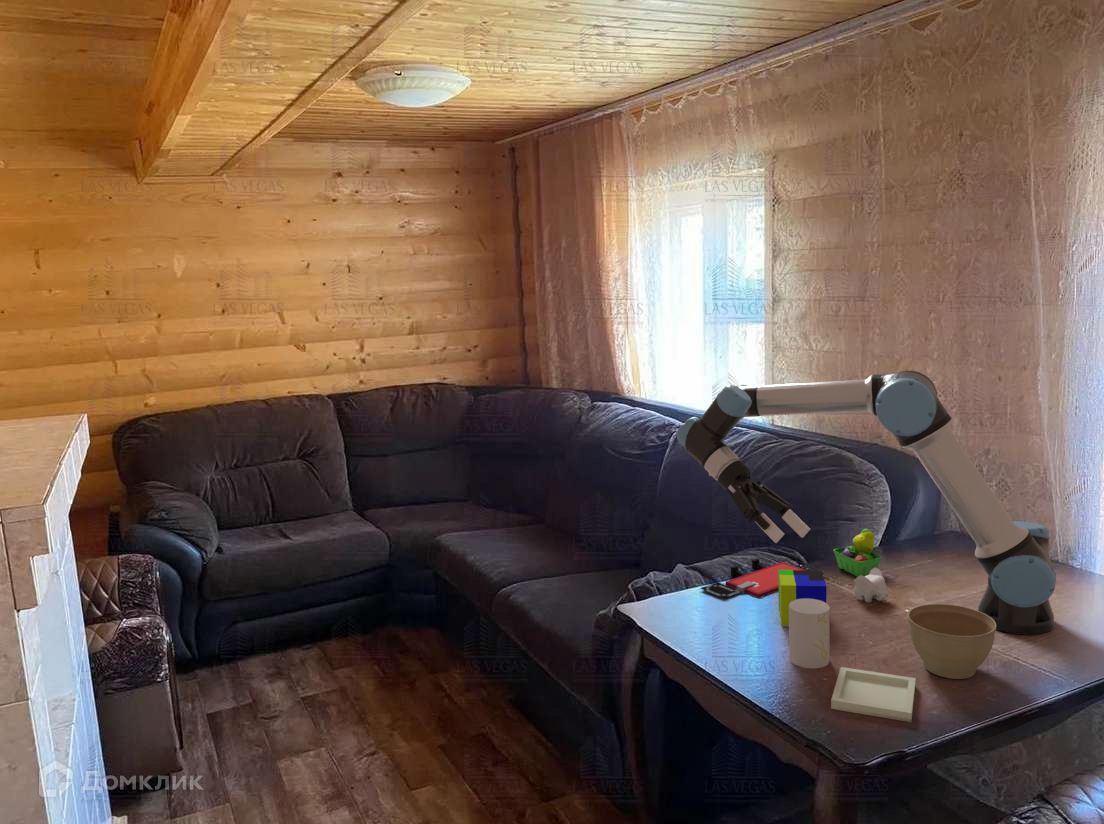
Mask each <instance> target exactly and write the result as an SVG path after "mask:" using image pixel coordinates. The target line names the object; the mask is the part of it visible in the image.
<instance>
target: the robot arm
mask: <svg viewBox="0 0 1104 824" xmlns="http://www.w3.org/2000/svg"><path fill="white" fill-rule="evenodd" d="M865 412H867V413H869V414H871V415H872V416H874V417H876V416H877V419H878V421H879V422H880V424H881V426H883V427H884V428H885V429H886V430H887V431H888V432H890V433H892V435H893V436H894V438H895V439H896V441H897V442H898V444H899V445H900V447H901V448H903V449H906V450H911V451H913V452H914V455H915V456H916V458H918V460H919V462H920V463H921V464H922V466H923V467H924V469H925V470H926V472H927V473H928V475H929V477H930V478H931V479H932V480H933V483H934V484H935V486H936V487H937V488H938V490H939V491H940V492H941V494H942V496H943V498H945V500H946V501H947V503H948V504H949V506H950V508H951V509H952V511H953V512H954V514H955V515H956V516H957V517H958V519H959V520H960V522H961V524H962V525H963V527H964V528H965V530H966V531H967V532H968V534H969V536H970V537H971V538H972V540H973V541H974V544H975V545H976V548H975V550H974V555H975V557H976V560H978V562H979V564H980V566H981V567H982V568H983V569H984V571H985V573H986V574H987V586H986V588H985V590H984V593H983V596H982V597H981V600H980V602H979V605H978V609H977V611H980V612H982V613H984V614H986V615H988V616H989V617H991V618H992V619H993V620H994V621H995V622H996V631H997V630H998V631H1000V632H1005V633H1010V634H1017V635H1029V636H1030V635H1041V634H1045V633H1048V632H1051V631H1052V630H1053V629H1054V626H1055V616H1054V612H1053V609H1052V606H1051V602H1050V600H1049V599H1050V598H1051V597H1052V595H1053V594H1054V592H1055V589H1056V583H1057V575H1056V571H1055V570H1054V567H1053V565H1052V564H1053V563H1052V560H1051V557H1050V553H1049V546H1050V545H1049V542H1050V540H1051V537H1050V530H1049V529H1048V527H1046V526H1045V525H1044V524H1043V525H1042V524H1040V523H1035V522H1030V521H1029V522H1028V521H1021V520H1020V521H1019V520H1012V518H1011V517H1010V515H1009V514H1008V512H1007V511H1006V509H1005V507H1004V506H1003V505H1002V503H1001V502H1000V501H999V499H998V498H997V496H996V495H995V493H994V491H993V490H992V489H991V487H990V485H989V484H988V483H987V482H986V479H984V477H983V476H982V474H981V472H980V471H979V469H978V468H977V467H976V465H975V464H974V462H973V461H972V460H971V458H970V456H969V455H968V454H967V452H966V451H965V449H964V448H963V446H962V445H961V443H960V442H959V441H958V439H957V438H956V436H955V434H954V432H952V429H951V427H952V426H951V425H952V422H953V418H952V417H951V414H949V412H948V410H947V409H946V407H945V406H944V404H943V403H942V402H941V400H940V399H939V397H938V392H937V388H936V386H935V384H934V382H933V381H932V380H931V378H929V377H928V376H927V375H926V374H924V373H922V372H920V371H916V370H899V371H893V372H887V373H876V374H873V373H872V374H870V375H869V376H868V377H867V378H865V379H852V380H851V379H849V380H833V381H829V380H828V381H817V382H815V381H814V382H802V383H801V382H800V383H799V382H797V383H783V384H782V383H781V384H780V383H779V384H766V385H765V384H763V385H751V386H750V385H747V384H738V385H734V384H726V385H725V386H724V387H723V388H722V390H721V391H720V392H719V393H718V394H717V395H716V397H715V399H714V400H713V401H712V403H710V405H709V407H708V408H707V409H706V410H705V412H704V414H702V415H701V416H700V418H699V417H697V416H693V417H690V418H688V419H687V420H685V422H684V423H682V424H681V425H680V426H679V428H678V430H677V433H676V438H677V441H678V442H679V443H680V444H681V445H682V447H683V448H684V449H685V452H687V453H688V454H689V455H691V456H692V457H693V459H694V460H696V461H697V462H698V463H699V464H700V465H701V466H702V467H703V468H704V470H706V472H708V476H709V477H712V478H713V479H714V480H716V481H717V483H718V484H719V485H720V486H721V488H723V490H725V492H726V493H728V494H729V495H730V497H731V498H732V500H733V501H734V502H735V504H736V506H737V508H738V510H739V511H740V512H741V515H742V516H743V518H744V519H745V520H746V521H747V522H748V523H749V524H753V522H754V523H755V524H756V525H757V526H758V527H759V528H760V529H761V530H762V531H763V532H764V533H765V534H766V535H767V536H768V537H769V538H770V539H771V541H773V542H774V544H777V543H779V542H780V540H781V539H782V538H783V537H784V536H785V533H784V532H783V531H782V530H781V529H780V528H779V527H778V525H776V523H774V522H773V521H772V519H770V518H769V517H768V516H767V514H766V513H764V512H761V510H760V508H759V505H758V504H763V505H764V506H766V507H767V508H769V509H770V510H772V511H774V512H775V513H777V514H779V515H780V516H781V519H782V520H783V521H784V522H785V523H786V524H787V525H788V526H789V527H790V528H791V529H792V530H793V531H794V532H795V533H796V534H797V535H798V536H799V537H800V538H801V539H803V538H804V537H805V536H806V535H807V534H808V532H810V531H811V528H810V527H809V526H808V525H807V524H806V522H804V521H803V520H802V519H801V518H800V517H799V516H798V515H797V514H796V513H795V512H794V511H793V510H792V508H793V507H794V505H793V504H792V503H790V502H788V501H787V500H785V499H784V498H782V497H781V496H780V495H779V494H777V493H775V492H774V491H773V490H772V489H771V488H769V487H768V486H766V485H765V484H764V483H763V482H762V481H761V480H759V479H758V480H756V482H755V481H754V480H752V479H751V475H752V470H751V468H750V467H749V466H748V465H746V463H745V462H744V461H743V460H741V459H740V457H739V456H738V455H737V453H735V452H734V451H733V450H732V449H731V448H730V447H729V446H727V444H726V443H725V442H724V440H725V439H726V438H727V437H728V435H729V434H730V433H731V431H732V430H733V429H734V428H735V427H736V425H737V424H738V423H739V422H740V421H741V420H743V419H744V418H750V417H767V416H770V417H771V416H790V415H791V416H792V415H793V416H794V415H795V416H797V415H815V414H816V415H817V414H840V413H842V414H843V413H844V414H845V413H865Z"/></svg>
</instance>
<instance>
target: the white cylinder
mask: <svg viewBox="0 0 1104 824" xmlns="http://www.w3.org/2000/svg"><path fill="white" fill-rule="evenodd" d="M830 613H831V611H830V605H829V604H828V603H827V602H826V603H825V602H823V601H820V600H816V599H797V600H794V601H792V602H790V604H789V626H788V634H789V635H788V637H789V638H788V639H789V640H788V642H789V644H788V646H789V651H788V652H789V653H788V654H789V656H788V657H789V661H790V662H791V663H792V664H793V665H795V666H798V667H801V668H804V669H821V668H825V667H827V666H828V665H829V664H830V633H831V632H830V629H831V628H830V625H831V624H830V619H831V618H830Z"/></svg>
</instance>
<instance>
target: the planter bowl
mask: <svg viewBox="0 0 1104 824" xmlns="http://www.w3.org/2000/svg"><path fill="white" fill-rule="evenodd" d="M907 620H908V622H909V623H908V627H909V628H908V629H909V634H910V640H911V641H912V644H913V646H914V649H915V651H916V652H917V654H918V657H920V658H921V660H922V661H923V666H924V668H925V669H926V670H927V671H928V672H930V673H932V674H934V675H936V676H939V677H942V678H947V679H953V680H962V679H963V680H964V679H968V678H969V679H970V678H971V677H973V676H974V675H975V674H976V672H977V669H978V668H980V666H981V665H982V664H983V663H984V662H985V660H986V659H987V658H988V656H989V654H990V653H991V651H992V648H993V645H994V640H995V634H996V632H997V629H996V622H995V621H994V620H993V619H992V618H991V617H989V616H988V615H986V614H984V613H982V612H980V611H978V609H977V610H976V609H973V608H970V607H966V606H962V605H956V604H949V603H946V604H945V603H932V604H931V603H930V604H923V605H918V606H917V605H916V606H915V607H913V608H911V609H910V610H909V611H908V613H907Z"/></svg>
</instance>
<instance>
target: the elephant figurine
mask: <svg viewBox="0 0 1104 824" xmlns="http://www.w3.org/2000/svg"><path fill="white" fill-rule="evenodd" d="M853 585H854V588H853V591H854V595H855V598H856V599H857V600H858V601H864V602H865V601H866V602H865V603H871V602H873V599H874V600H875V599H876V601H879V602H882V601H883V600H885V599H887V598H888V596H889V592H890V593H891V594H892V595H894V593H893V591H892V590H891V589H890V588H889V587H887V585H886V579H885V578H884V576H883V573H882V571H881V569H880V568H873V569H872V570H871V571H870V574H869V575H867V576H865V577H864V576H862V575H860V576H858V577H856V578H855V579H853Z"/></svg>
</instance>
